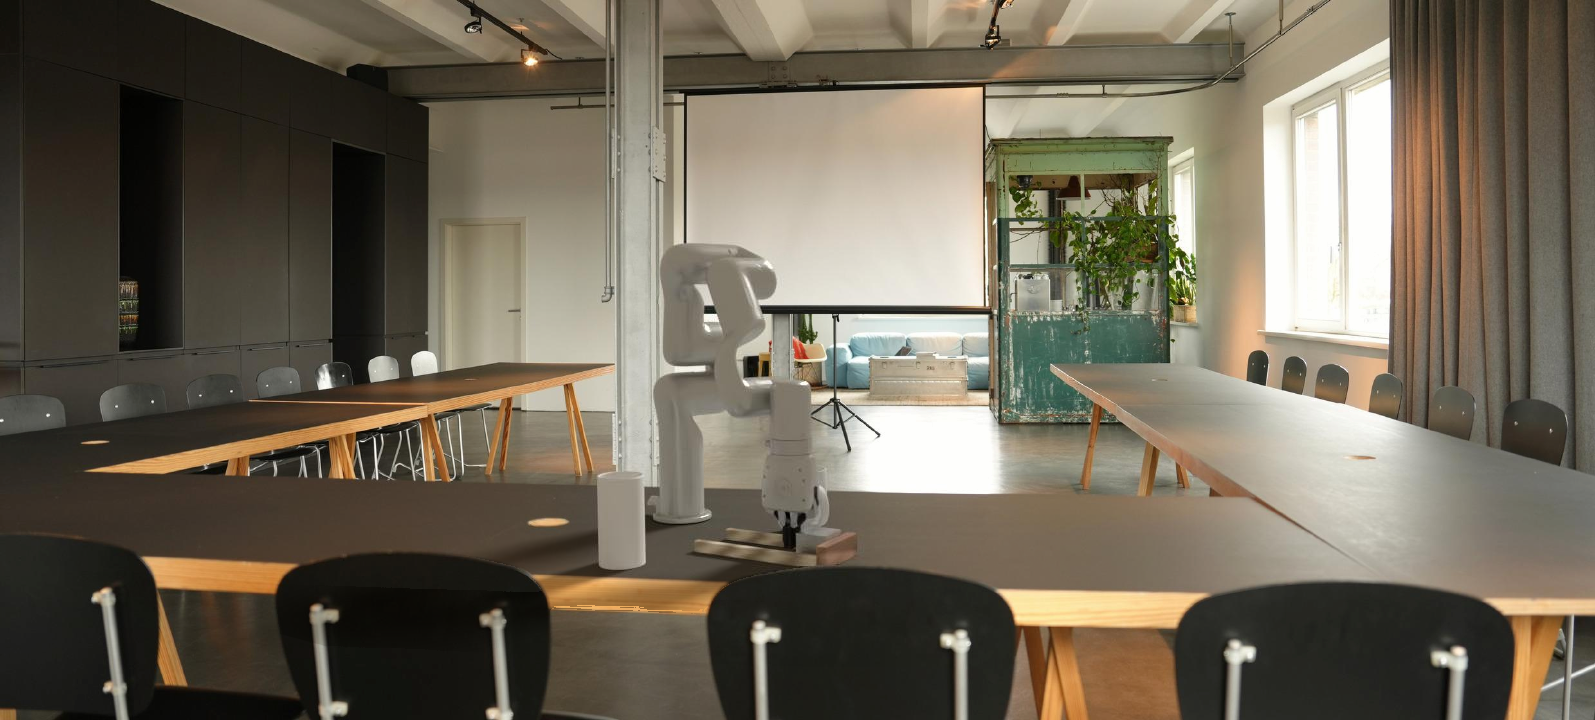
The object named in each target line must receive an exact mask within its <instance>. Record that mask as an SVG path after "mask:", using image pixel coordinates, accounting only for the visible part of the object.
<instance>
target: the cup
mask: <svg viewBox="0 0 1595 720" xmlns="http://www.w3.org/2000/svg"><path fill="white" fill-rule="evenodd" d="M596 484H597V485H596V486H597V487H596V491H597V492H596V493H597V497H596V498H597V529H598V530H597V537H598V540H597V541H598V566H599V567H600V568H601V569H605V570H612V571H618V570H619V571H621V570H632V569H636V568H640V567H642V566H644V565H645V564H646V563H647V562H646V559H647V558H646V515H645V514H646V512H645V511H646V510H645V509H646V507H645V474H644V473H643V472H640V471H634V470H633V471H630V470H628V471H627V470H623V471H622V470H620V471H619V470H618V471H608V472H603V473H599V474H597V476H596Z"/></svg>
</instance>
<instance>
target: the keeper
mask: <svg viewBox="0 0 1595 720" xmlns="http://www.w3.org/2000/svg"><path fill="white" fill-rule="evenodd" d="M841 532H842V531H841V529H839V528H831V527H830V528H829V527H823V526H820V527H815V526H811V527H808V528H806V529H804V530H802V531H799V532H797V533H796V549H795V552H796V553H803V554H811V555H816V546H818V545H820V544H823V543H825V542H827V541H829V540H831V539H833V538H835V537H838V536H840V535H842V533H841Z"/></svg>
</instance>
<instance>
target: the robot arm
mask: <svg viewBox="0 0 1595 720" xmlns="http://www.w3.org/2000/svg"><path fill="white" fill-rule="evenodd" d="M660 260H661V261H660V266H659V278H660V283H661V289H662V294H663V323H662V324H663V325H662V327H663V328H662V330H663V331H662V355H663V358H664V361H665V362H666V363H667V364H668V365H670V366H673V367H686V368H687V367H703V366H704V368H705V370H704V371H681V372H671V373H667V374H664V375H662V376H661V377H659V378H658V379H657V380H656V381H655V383H654V386H653V391H652V398H653V403H654V408H655V411H656V421H657V430H658V431H657V432H658V456H659V457H658V467H659V469H658V470H659V475H658V476H659V496H658V495H650V497H649V499H648V500H647V502H646V503H647V506H649V507H655V511H654V512H653V513H652V519H653V521H655V522H659V523H662V524H663V523H664V524H671V525H672V524H674V525H675V524H676V525H677V524H679V525H681V524H683V525H684V524H685V525H686V524H696V523H700V522H704V521H708V520H709V519H711V518H712V511H711V510H710V509H708V508H705V479H704V478H705V474H704V473H705V471H704V468H705V467H704V437H703V433H702V431H701V429H700V427H699V426H698V424H697V423H696V421H695V420H694V417H697V416H704V415H715V414H720V413H723V412H724V413H725V411H726V412H727V413H728V414H729V415H730V416H731V417H733V418H734V419H740V420H741V419H753V418H754V419H755V418H756V419H757V418H762V417H764V418H767V417H769V421H770V422H769V425H770V426H769V427H770V428H769V429H770V430H769V431H770V432H769V433H770V434H769V436H770V437H769V439H766V440H765V442H764V445H765V448H766V447H767V448H769V452H770V453H768V454H766V456H765V460H764V465H763V469H762V470H763V472H762V479H761V482H762V483H761V504H762V505H761V506H762V507H764V508H765V509H764V511H765V513H768V514H770V515H771V516H774V517H775V518H776V519H778V520H779V523H780V525H781V526H782V529H781V530H782V532H781V534H782V537H783V542H784V547H783V548H784V549H789V550H795V549H794V548H796V533H797V532H799V531H801V525H802V524H803V523H804V522H805V521H806V519H811V518H815V517H818V515H819V513H818V509H817V507H818V506H819V479H818V471H817V461H816V457H815V455H813V454H812V387H811V385H810V383H809V382H808V381H806V380H802V379H801V380H800V379H790V378H788V377H785V376H780V375H777V376H776V375H775V376H774V375H773V376H753V377H742V375H741V372H740V369H739V366H738V361H737V351H738V348H741V347H743V346H744V345H746V344H748V343H750V342H752V341H754V340H755V339H757V338H759V336H761V334H762V333H763V332H764V331H765V329H766V323H767V322H766V320H765V318H764V315H763V312H762V309H761V306H760V302H759V301H760V300H761V301H764V300H768V299H769V298H772V296H774V293H775V292H776V289H777V285H778V284H777V283H778V280H777V275H776V272H775V270H774V267H773V266H772V265H771V263H770V262H769V261H768V260H767V259H766V258H764V257H763V256H760V255H758V254H756V253H754V252H752V251H750V250H748V249H746V248H744V247H742V246H739V245H736V244H722V243H719V244H718V243H701V242H696V243H695V242H694V243H693V242H692V243H691V242H689V243H688V242H686V243H685V242H684V243H678V244H674V245H672V246H669V247H668V248H667V249H666V250H665V252H664V253H663V255H662V257H661V259H660ZM696 285H706V286H707V288H708V291H709V295H710V297H711V300H712V301H711V302H712V303H713V307H714V310H715V312H716V316H717V319H718V321H705V318H704V317H705V316H704V315H705V300H704V298H703V296H702V294H701V292H700V290H699V288H698V287H697V286H696ZM807 511H808V512H807ZM791 512H792V513H791ZM778 520H777V521H778ZM780 525H779V526H780Z"/></svg>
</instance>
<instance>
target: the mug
mask: <svg viewBox="0 0 1595 720" xmlns="http://www.w3.org/2000/svg"><path fill="white" fill-rule="evenodd" d="M816 465H817V464H816ZM817 471H818V479H819V506H818V507H817V509H818V513H819V515H818V517H815V518H811V519H806V521H805V522H804V523H803V524H802V525H801V531H802V530H804V529H806V528H808V527H811V526H815V527H823V526H825V524H826V523H827V522H828V519H829V516H830V503H829V502H830V501H829V498H828V496H827V495H828V482H827V481H828V475H827V474H828V473H827V467H825V466H823V465H817ZM807 512H808V511H807ZM791 513H792V512H791ZM776 519H777V518H776ZM777 522H778V525H779V527H780V529H781V530H782V526H781V525H780V523H779V520H778V519H777Z"/></svg>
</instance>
